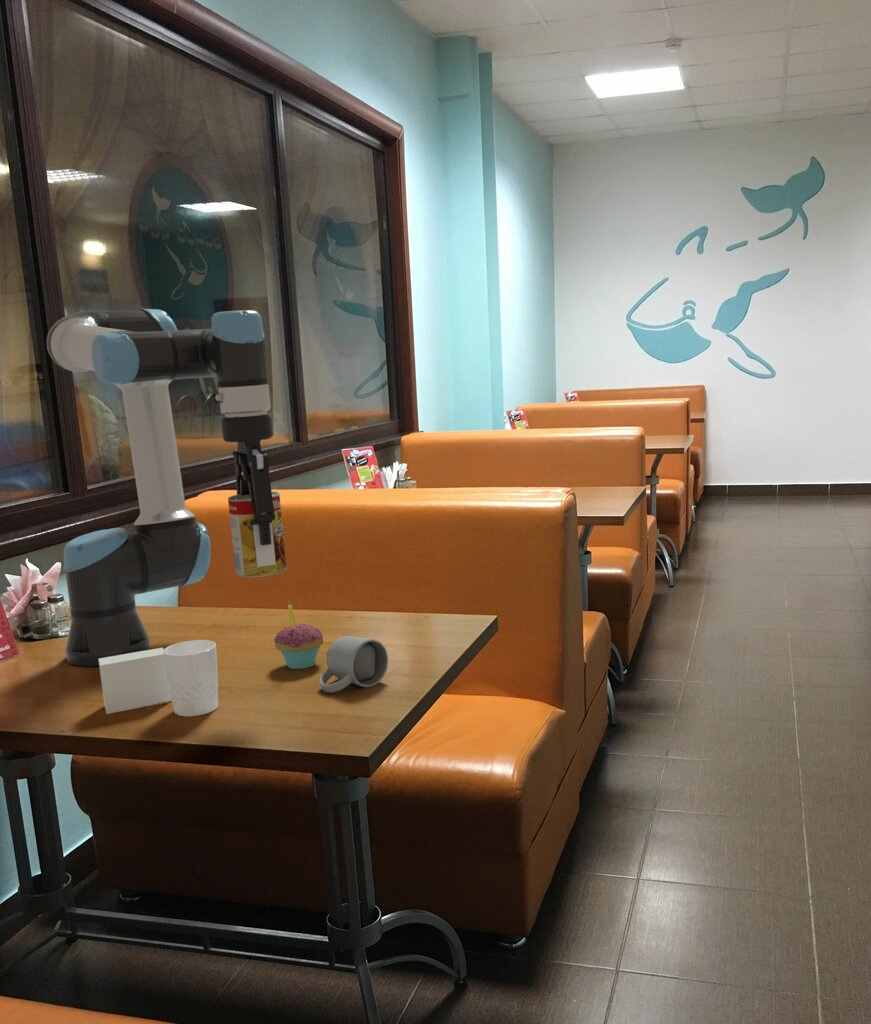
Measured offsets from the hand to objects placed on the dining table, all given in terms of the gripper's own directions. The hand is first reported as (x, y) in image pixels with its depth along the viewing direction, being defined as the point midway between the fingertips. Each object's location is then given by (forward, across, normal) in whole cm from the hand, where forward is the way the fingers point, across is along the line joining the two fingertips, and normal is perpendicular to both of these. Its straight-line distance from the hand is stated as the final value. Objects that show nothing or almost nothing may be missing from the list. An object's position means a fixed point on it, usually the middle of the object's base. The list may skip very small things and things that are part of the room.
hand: (260, 560), depth 148 cm
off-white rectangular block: (+22, -9, -20) cm, 31 cm away
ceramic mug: (+22, +2, +13) cm, 26 cm away
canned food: (+2, 0, 0) cm, 2 cm away
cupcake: (+22, -13, +8) cm, 27 cm away
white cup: (+22, -1, -12) cm, 25 cm away
